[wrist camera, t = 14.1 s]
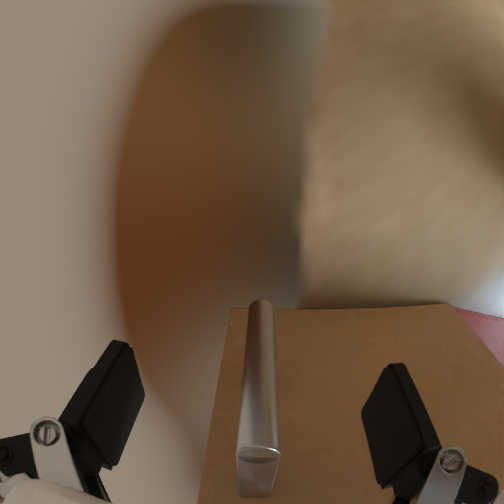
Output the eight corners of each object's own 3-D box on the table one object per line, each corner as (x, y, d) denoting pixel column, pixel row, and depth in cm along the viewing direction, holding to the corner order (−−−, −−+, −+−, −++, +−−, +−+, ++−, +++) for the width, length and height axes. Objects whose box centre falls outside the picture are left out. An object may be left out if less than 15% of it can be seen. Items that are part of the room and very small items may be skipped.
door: (229, 245, 26) (144, 550, 3) (463, 251, 25) (604, 382, 2) (231, 315, 29) (191, 561, 6) (446, 309, 28) (547, 453, 5)
